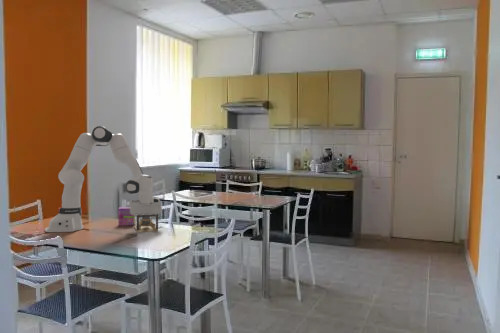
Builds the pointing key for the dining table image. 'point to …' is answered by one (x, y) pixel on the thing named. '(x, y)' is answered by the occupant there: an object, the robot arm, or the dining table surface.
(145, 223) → the gray domed cylinder
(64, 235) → the dining table surface
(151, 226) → the wooden tray with handle
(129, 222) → the box
